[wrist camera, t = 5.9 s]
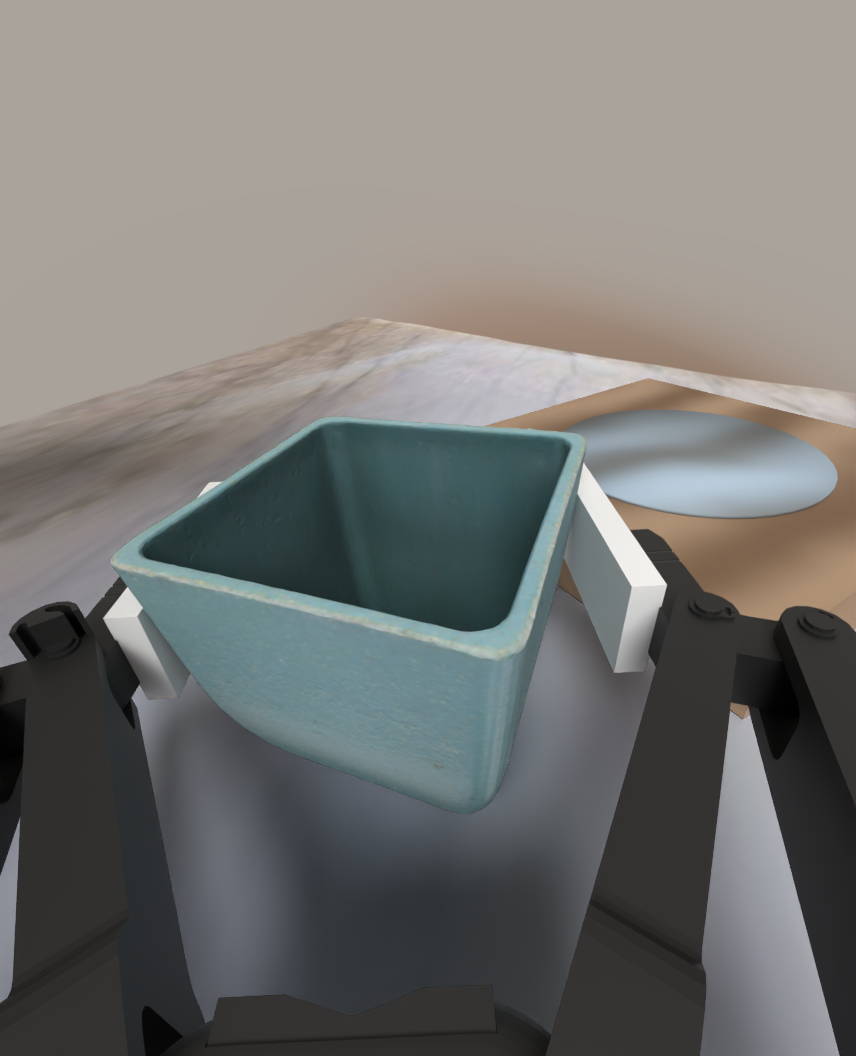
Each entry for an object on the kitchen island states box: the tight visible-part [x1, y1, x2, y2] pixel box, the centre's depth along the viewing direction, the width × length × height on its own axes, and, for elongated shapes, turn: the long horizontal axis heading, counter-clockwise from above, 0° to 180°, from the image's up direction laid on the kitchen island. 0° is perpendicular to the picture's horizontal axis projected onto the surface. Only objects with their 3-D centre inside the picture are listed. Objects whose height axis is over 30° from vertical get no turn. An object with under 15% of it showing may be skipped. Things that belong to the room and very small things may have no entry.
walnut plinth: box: [484, 378, 856, 719], centre depth 27 cm, size 20×20×3 cm
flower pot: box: [110, 417, 587, 814], centre depth 14 cm, size 9×9×9 cm
